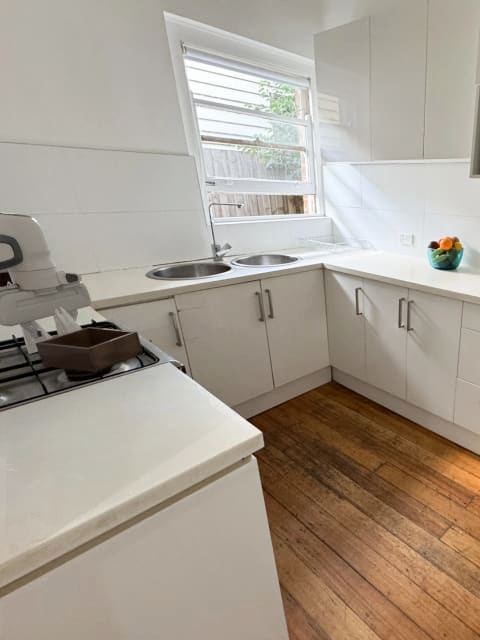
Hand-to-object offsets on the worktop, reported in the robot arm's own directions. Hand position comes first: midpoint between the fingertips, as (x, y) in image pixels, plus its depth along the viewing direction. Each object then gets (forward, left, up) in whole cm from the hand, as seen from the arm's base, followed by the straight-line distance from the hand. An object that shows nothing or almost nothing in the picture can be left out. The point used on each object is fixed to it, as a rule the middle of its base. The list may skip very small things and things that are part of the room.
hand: (55, 331), depth 101 cm
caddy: (-4, -17, -4) cm, 18 cm away
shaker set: (0, 0, -5) cm, 5 cm away
